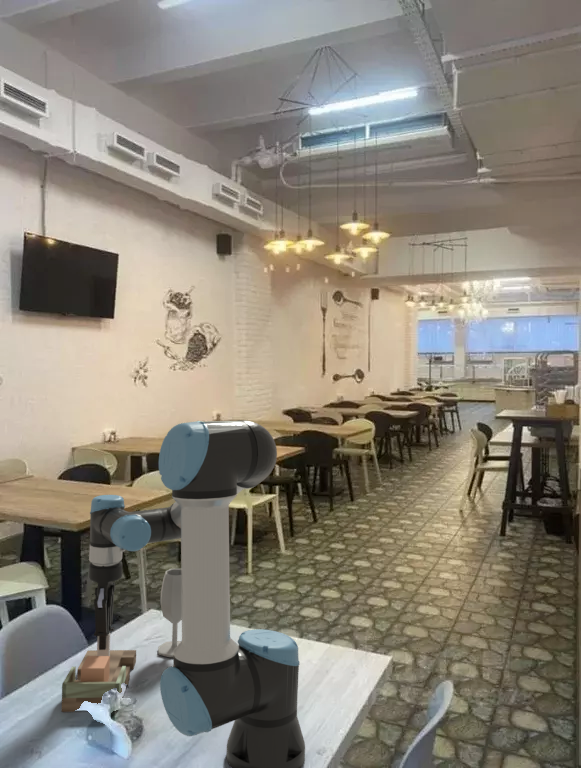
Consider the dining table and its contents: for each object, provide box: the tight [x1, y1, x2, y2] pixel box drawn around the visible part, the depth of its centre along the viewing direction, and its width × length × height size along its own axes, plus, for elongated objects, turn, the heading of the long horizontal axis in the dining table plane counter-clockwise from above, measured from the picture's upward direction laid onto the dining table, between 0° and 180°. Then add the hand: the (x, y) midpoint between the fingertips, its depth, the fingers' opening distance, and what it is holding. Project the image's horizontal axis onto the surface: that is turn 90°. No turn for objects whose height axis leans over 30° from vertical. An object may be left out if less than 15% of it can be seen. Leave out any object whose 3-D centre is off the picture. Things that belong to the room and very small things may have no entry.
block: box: [81, 656, 110, 682], centre depth 139 cm, size 6×5×5 cm
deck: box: [61, 649, 137, 713], centre depth 145 cm, size 23×12×6 cm, turn 5°
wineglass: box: [157, 568, 182, 658], centre depth 164 cm, size 9×9×21 cm
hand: (103, 660), depth 147 cm, fingers closed
